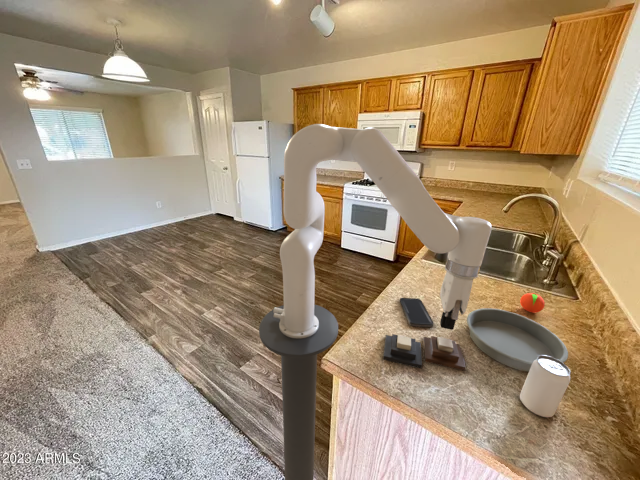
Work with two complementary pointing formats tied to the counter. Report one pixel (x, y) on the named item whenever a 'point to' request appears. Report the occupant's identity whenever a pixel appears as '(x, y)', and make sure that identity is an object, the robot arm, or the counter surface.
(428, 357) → the keypad
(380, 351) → the counter surface
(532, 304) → the tomato
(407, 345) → the key
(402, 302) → the phone
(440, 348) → the key
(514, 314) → the cake pan
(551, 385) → the can
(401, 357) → the keypad
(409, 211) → the robot arm
